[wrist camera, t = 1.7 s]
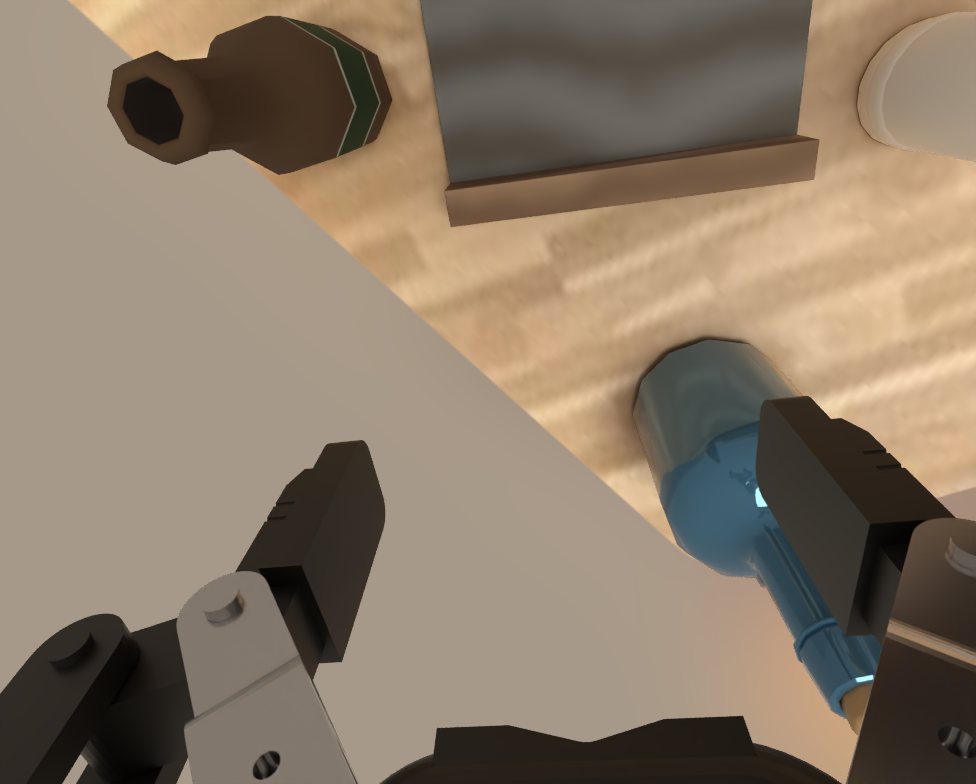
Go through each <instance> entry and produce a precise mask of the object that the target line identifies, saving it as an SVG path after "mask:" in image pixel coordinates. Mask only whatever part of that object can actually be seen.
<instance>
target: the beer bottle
mask: <svg viewBox="0 0 976 784" xmlns="http://www.w3.org/2000/svg"><path fill="white" fill-rule="evenodd" d="M391 101H392V99H391V96H390V93H389V90H388V87H387V84H386V81H385V78H384V75H383V72H382V69H381V66H380V63H379V60H378V57H377V55H375V54H374V53H372V52H370V51H369V50H367V49H365V48H364V47H362V46H360V45H359V44H357V43H355V42H354V41H352V40H351V39H349V38H347V37H346V36H344V35H342V34H341V33H339V32H337V31H335V30H333V29H330V28H326V27H322V26H318V25H314V24H310V23H306V22H302V21H298V20H294V19H290V18H286V17H282V16H265V17H263V18H260V19H258V20H255V21H252V22H250V23H247V24H245V25H242V26H240V27H237V28H235V29H232V30H230V31H227V32H225V33H222V34H219V35H217V36H216V37H215V38H214V40H213V41H212V42H211V44H210V47H209V52H208V56H207V58H201V59H189V60H178V61H174V60H173V59H171V58H169V57H167V56H165V55H164V54H162V53H160V52H158V51H155V52H152V53H150V54H147V55H145V56H142V57H140V58H137V59H135V60H132V61H130V62H127V63H125V64H122V65H121V66H119V67H117V68H116V69H114V70H113V74H112V80H111V87H110V92H109V98H108V104H107V107H108V108H109V110H110V112H111V114H112V116H113V117H114V119H115V121H116V123H117V125H118V127H119V128H120V130H121V132H122V134H123V135H124V137H125V139H126V141H127V143H128V144H130V145H132V146H134V147H136V148H138V149H140V150H142V151H144V152H145V153H147V154H149V155H151V156H153V157H155V158H157V159H159V160H161V161H163V162H167V163H171V164H174V165H177V164H180V163H182V162H185V161H188V160H191V159H194V158H196V157H199V156H202V155H205V154H208V152H210V151H220V150H230V149H232V150H234V151H236V152H237V153H239V154H241V155H243V156H245V157H247V158H249V159H250V160H252V161H254V162H256V163H258V164H260V165H262V166H263V167H265V168H267V169H269V170H271V171H273V172H275V173H276V174H278V175H280V174H286V173H291V172H294V171H297V170H300V169H303V168H306V167H309V166H312V165H315V164H318V163H321V162H324V161H327V160H330V159H333V158H336V157H339V156H341V155H343V154H346V153H348V152H350V151H353V150H355V149H357V148H359V147H362V146H364V145H366V144H369V143H371V142H373V141H374V140H375V139H377V136H378V134H379V131H380V129H381V126H382V124H383V121H384V119H385V116H386V114H387V111H388V109H389V106H390V104H391Z"/></svg>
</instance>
